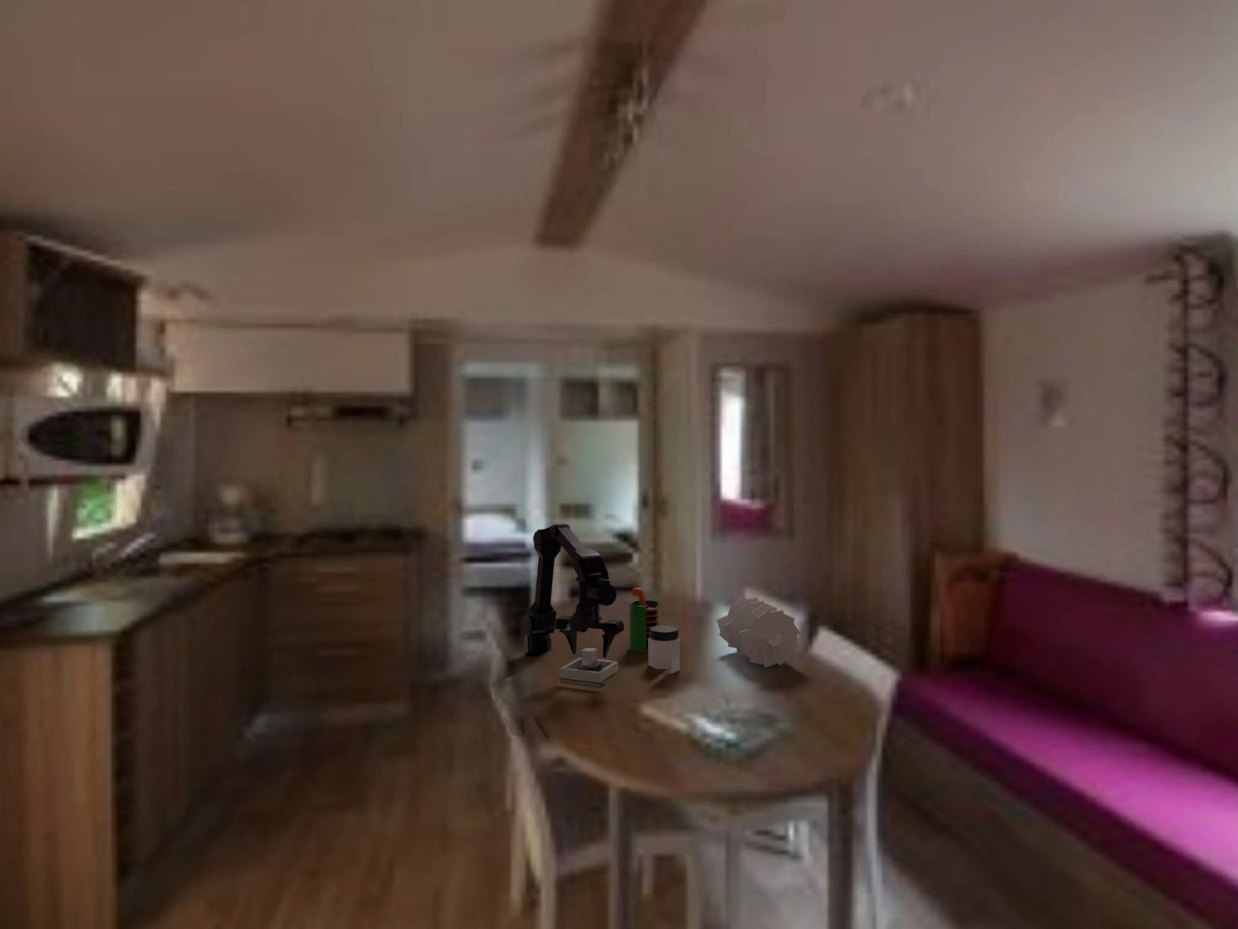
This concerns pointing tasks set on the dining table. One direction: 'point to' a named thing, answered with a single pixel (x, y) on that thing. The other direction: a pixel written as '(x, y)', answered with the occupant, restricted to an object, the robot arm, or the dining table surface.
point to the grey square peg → (589, 660)
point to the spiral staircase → (759, 632)
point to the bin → (587, 673)
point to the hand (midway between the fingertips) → (589, 655)
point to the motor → (641, 621)
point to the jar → (664, 649)
